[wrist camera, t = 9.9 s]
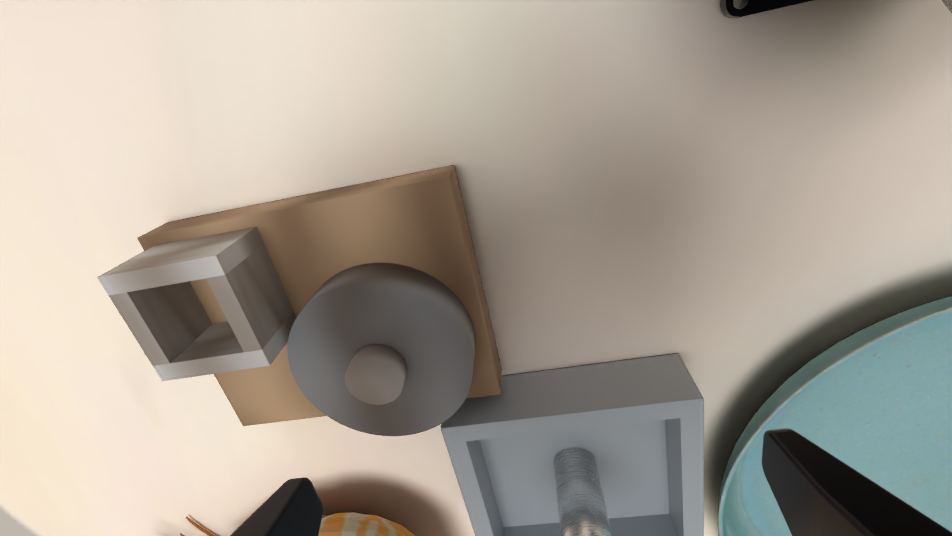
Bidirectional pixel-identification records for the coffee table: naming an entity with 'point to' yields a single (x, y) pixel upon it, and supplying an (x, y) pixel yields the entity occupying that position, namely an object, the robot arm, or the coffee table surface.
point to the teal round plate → (860, 420)
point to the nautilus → (351, 526)
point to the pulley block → (321, 305)
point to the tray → (585, 447)
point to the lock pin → (579, 494)
